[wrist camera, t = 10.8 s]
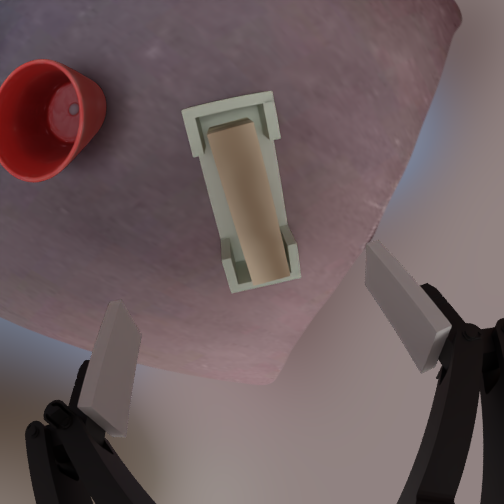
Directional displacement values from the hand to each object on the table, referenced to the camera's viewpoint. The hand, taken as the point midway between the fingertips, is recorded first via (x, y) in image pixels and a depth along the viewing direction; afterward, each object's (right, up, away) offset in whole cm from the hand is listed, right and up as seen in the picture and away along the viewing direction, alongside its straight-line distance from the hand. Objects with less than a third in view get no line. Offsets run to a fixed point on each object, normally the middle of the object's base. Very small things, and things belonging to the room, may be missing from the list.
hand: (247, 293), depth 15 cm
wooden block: (0, +9, +17) cm, 19 cm away
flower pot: (-19, +18, +10) cm, 28 cm away
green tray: (-1, +9, +17) cm, 20 cm away
